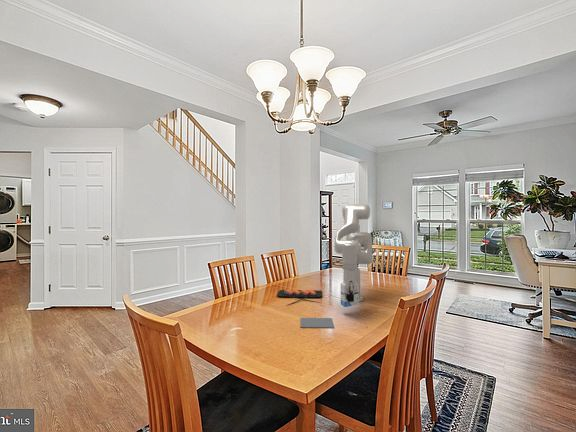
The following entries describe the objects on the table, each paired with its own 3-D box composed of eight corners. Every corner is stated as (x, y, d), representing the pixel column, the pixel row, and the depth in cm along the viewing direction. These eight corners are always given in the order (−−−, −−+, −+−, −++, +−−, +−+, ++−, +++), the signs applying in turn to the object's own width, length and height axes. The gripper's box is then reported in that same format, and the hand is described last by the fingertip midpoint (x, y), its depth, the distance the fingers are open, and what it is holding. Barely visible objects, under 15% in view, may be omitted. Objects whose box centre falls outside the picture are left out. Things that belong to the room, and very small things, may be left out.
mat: (300, 318, 156) (300, 317, 156) (331, 319, 156) (331, 318, 156) (300, 327, 144) (300, 326, 144) (334, 328, 144) (334, 327, 144)
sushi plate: (322, 293, 205) (322, 287, 205) (322, 307, 175) (322, 301, 175) (279, 292, 208) (279, 286, 208) (272, 306, 178) (272, 300, 178)
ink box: (344, 307, 160) (344, 285, 159) (340, 304, 164) (340, 282, 164) (359, 305, 162) (359, 283, 161) (354, 302, 167) (354, 281, 166)
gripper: (340, 262, 171) (340, 294, 172) (344, 270, 153) (344, 305, 155) (353, 262, 170) (353, 294, 171) (359, 270, 153) (359, 305, 154)
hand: (349, 299), depth 163 cm, fingers closed on ink box, 6 cm apart
